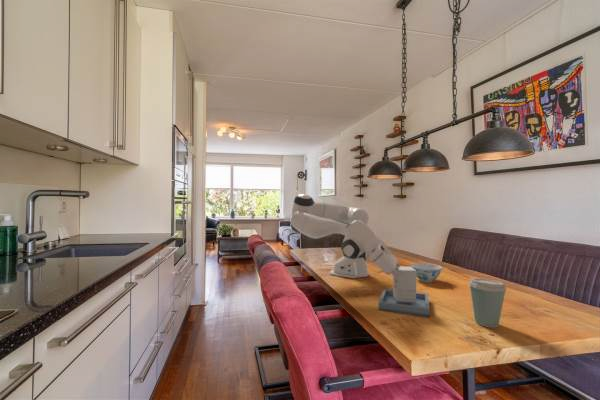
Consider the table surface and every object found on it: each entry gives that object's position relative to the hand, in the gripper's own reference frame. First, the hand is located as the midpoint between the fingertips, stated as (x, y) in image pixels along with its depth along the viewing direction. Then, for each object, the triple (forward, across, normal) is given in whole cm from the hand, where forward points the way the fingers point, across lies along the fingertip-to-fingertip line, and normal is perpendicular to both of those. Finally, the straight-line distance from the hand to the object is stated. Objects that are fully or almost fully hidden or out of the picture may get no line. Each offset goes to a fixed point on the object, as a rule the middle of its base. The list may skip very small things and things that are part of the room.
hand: (402, 276), depth 113 cm
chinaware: (+15, -42, -2) cm, 45 cm away
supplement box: (+7, 0, -6) cm, 10 cm away
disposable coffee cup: (+28, +8, +11) cm, 31 cm away
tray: (+9, 0, -8) cm, 12 cm away
